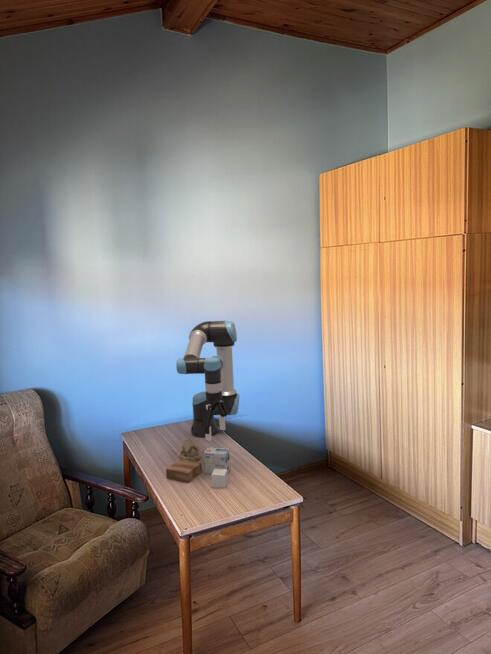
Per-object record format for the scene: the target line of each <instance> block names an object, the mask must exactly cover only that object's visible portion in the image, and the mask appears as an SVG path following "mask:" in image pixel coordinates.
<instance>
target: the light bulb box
mask: <svg viewBox="0 0 491 654" xmlns="http://www.w3.org/2000/svg"><path fill="white" fill-rule="evenodd" d="M203 453H204V455H203V456H204V469H205V470H204V471H205V474H212V473H213V471H214V469H227V472H228V473H229V472H230V470H231V457H230V448H224V447H211V446H210V447H208V448H207V449H206V450H205V451H204V452H203Z"/></svg>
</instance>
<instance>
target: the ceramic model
mask: <svg viewBox="0 0 491 654" xmlns="http://www.w3.org/2000/svg"><path fill="white" fill-rule="evenodd" d="M180 448H181V451H180V452H179V455H178V457H179V459H184V460H190V461H195V462H198V461H199V460H200V459H201V458H202V457H201V451H200V450H199V448H200V447H199V445H198V444H196V443H195V442H194V441H193V440H192V438H191V437H186V439H185V440H184V441H183V442H182V443H181V447H180Z"/></svg>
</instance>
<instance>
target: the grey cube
mask: <svg viewBox="0 0 491 654" xmlns="http://www.w3.org/2000/svg"><path fill="white" fill-rule="evenodd" d="M228 473H229V472H227V469H214V471H213V473H212V474H211V476H210V479H211V488H216V489H217V488H218V489H226V487H227V485H228V483H229V477H228V476H229V475H228Z"/></svg>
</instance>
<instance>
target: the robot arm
mask: <svg viewBox="0 0 491 654" xmlns="http://www.w3.org/2000/svg"><path fill="white" fill-rule="evenodd" d="M237 335H238V334H237V329H236V324H235V322H233V321H232V320H213V321H211V320H210V321H202V322H201V323H198V324H197V325H195V326H194V328H192V329H191V331H190V332H189V335H188V340H189V341H188V344H187V347H186V349H185V352H184V354H183V357H181V358H177V360H176V367H175V368H176V372H177V373H178V374H179V375H194V374H196V375H197V374H198V375H199V374H200V375H201V374H204V386H205V388H204V389H205V391H200V392H198V393H196V394H194V395H193V396H192V403H191V405H192V414H193V420H192V421H193V422H192V426H191V429H190V434H191V435H192V436H194V437H196V438H205V441H211V442H212V440H213V439H212V436H214V435H216V434H218V431H219V430H220V431H226V417H228V416H233V415H237V414H238V412H239V405H240V394H239V393H237V390H236V389H235V385H234V365H233V364H234V362H233V347H234V346H235V343H236V342H237V341H238V338H237V337H238V336H237ZM206 343H213V348H216V355H213V356H210V357H201V354H202V353H201V352H202V350H203V346H204V345H205V344H206ZM215 416H219V417H218V418H219V419H218V420H219V423H218V424H219V430H218V426H217V423H216V420H215Z"/></svg>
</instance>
